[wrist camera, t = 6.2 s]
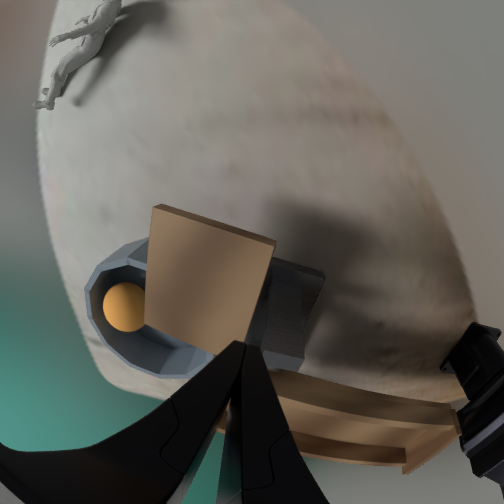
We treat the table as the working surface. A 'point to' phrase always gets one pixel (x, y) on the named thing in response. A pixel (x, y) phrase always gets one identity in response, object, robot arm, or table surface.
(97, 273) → the cup
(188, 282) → the lever
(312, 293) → the lever stand
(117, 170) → the table surface
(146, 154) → the table surface
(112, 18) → the soldier figure
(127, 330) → the ball
